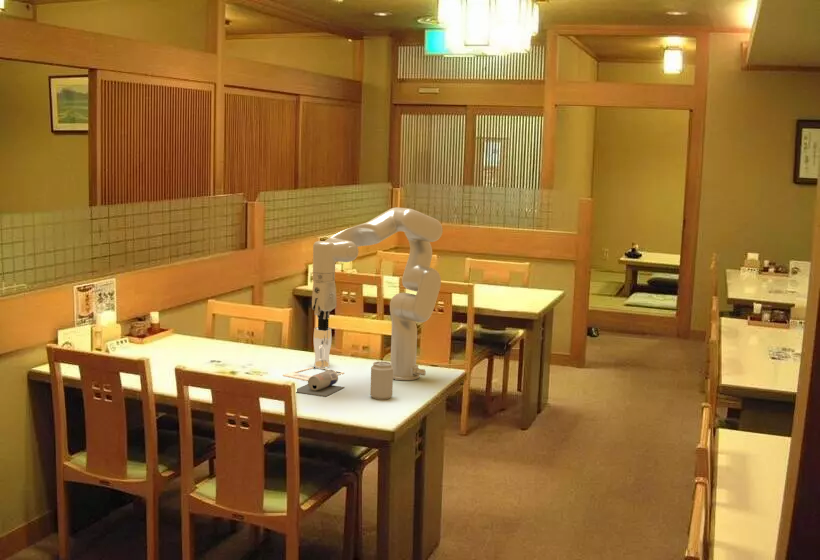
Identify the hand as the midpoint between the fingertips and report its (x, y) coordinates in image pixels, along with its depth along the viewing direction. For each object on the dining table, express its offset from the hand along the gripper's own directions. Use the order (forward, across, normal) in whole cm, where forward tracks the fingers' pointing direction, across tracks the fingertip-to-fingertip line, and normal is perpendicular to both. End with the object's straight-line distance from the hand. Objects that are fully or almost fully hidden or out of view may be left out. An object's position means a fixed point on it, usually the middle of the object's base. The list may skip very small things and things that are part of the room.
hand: (323, 329), depth 314 cm
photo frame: (+22, +18, +13) cm, 32 cm away
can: (+22, +2, -22) cm, 31 cm away
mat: (+21, 0, +1) cm, 21 cm away
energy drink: (+18, +8, 0) cm, 20 cm away
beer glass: (+22, +32, +17) cm, 43 cm away
